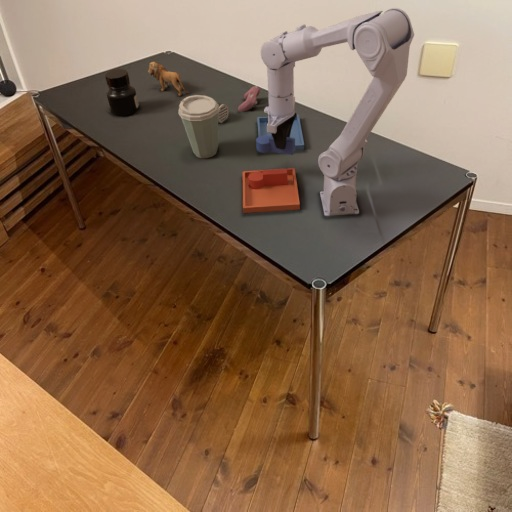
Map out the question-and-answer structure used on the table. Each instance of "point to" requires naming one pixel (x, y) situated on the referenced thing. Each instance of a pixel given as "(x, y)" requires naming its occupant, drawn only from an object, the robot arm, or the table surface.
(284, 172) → the red round-ended block
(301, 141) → the blue tray
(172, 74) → the lion figurine
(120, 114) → the ink bottle
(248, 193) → the terracotta tray
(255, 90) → the pink shoe
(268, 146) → the blue round-ended block
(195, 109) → the disposable coffee cup
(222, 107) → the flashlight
